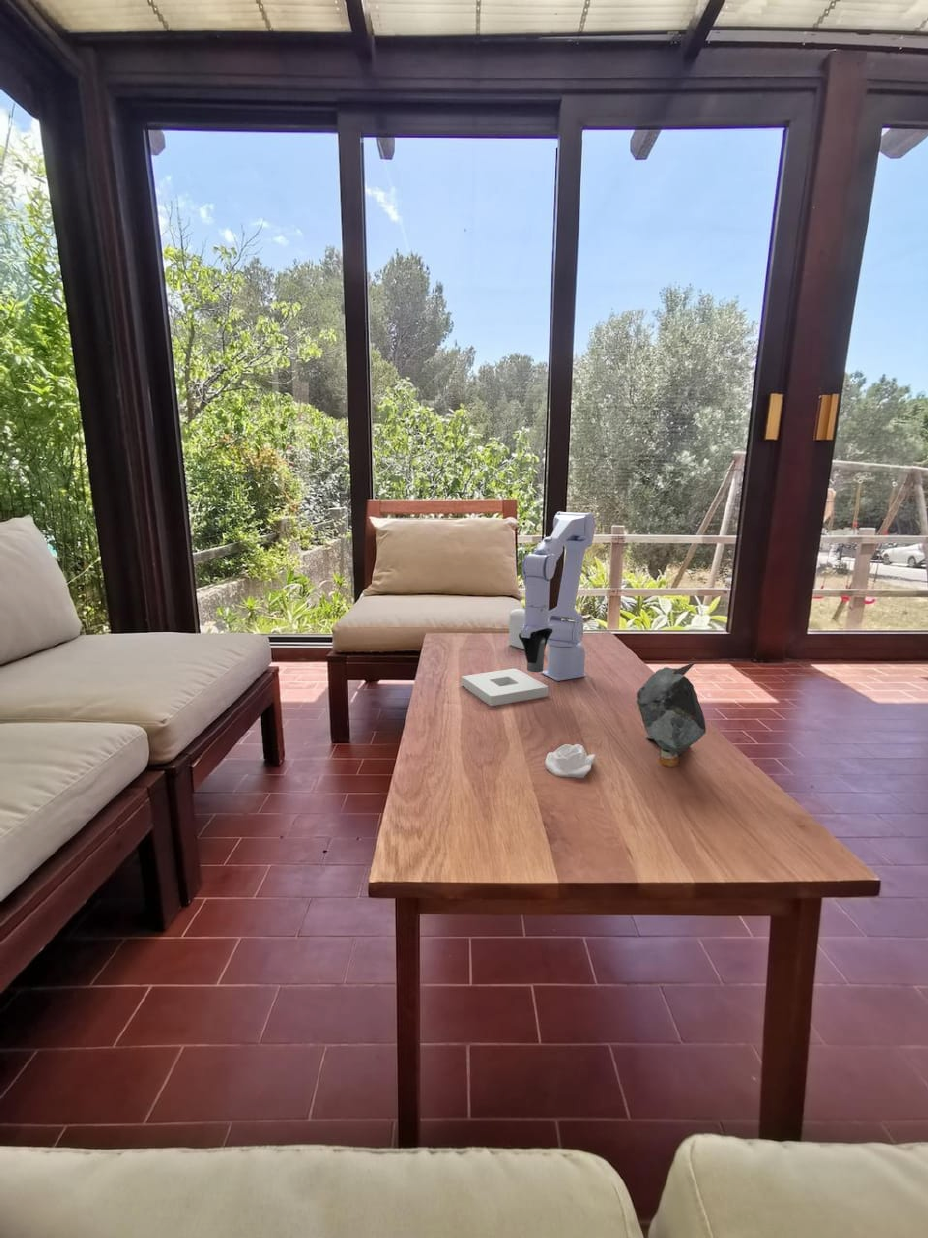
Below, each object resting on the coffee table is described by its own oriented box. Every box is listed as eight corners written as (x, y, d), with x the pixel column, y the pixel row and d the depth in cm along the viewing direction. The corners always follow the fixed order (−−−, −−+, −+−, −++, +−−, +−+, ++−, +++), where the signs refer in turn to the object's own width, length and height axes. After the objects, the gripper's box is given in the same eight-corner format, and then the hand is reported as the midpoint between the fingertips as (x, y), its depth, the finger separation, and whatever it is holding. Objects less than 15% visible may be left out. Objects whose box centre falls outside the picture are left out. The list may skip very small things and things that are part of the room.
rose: (610, 753, 106) (562, 762, 103) (608, 776, 107) (561, 785, 104) (580, 731, 116) (536, 739, 112) (579, 752, 117) (535, 760, 113)
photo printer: (506, 645, 191) (507, 607, 188) (516, 643, 194) (517, 606, 191) (529, 652, 183) (531, 613, 180) (539, 650, 186) (540, 611, 183)
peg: (537, 666, 147) (539, 635, 145) (546, 671, 143) (548, 639, 141) (523, 668, 145) (525, 636, 143) (532, 673, 142) (534, 641, 140)
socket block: (515, 677, 160) (515, 668, 160) (548, 696, 146) (548, 686, 146) (461, 685, 153) (461, 676, 153) (490, 706, 139) (491, 696, 139)
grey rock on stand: (613, 757, 114) (619, 668, 110) (651, 734, 125) (658, 651, 121) (685, 783, 104) (694, 686, 100) (720, 755, 115) (730, 667, 111)
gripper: (542, 612, 132) (540, 670, 136) (562, 601, 145) (560, 654, 148) (513, 609, 136) (511, 666, 139) (535, 598, 148) (533, 650, 151)
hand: (535, 660), depth 144 cm, fingers closed on peg, 4 cm apart
